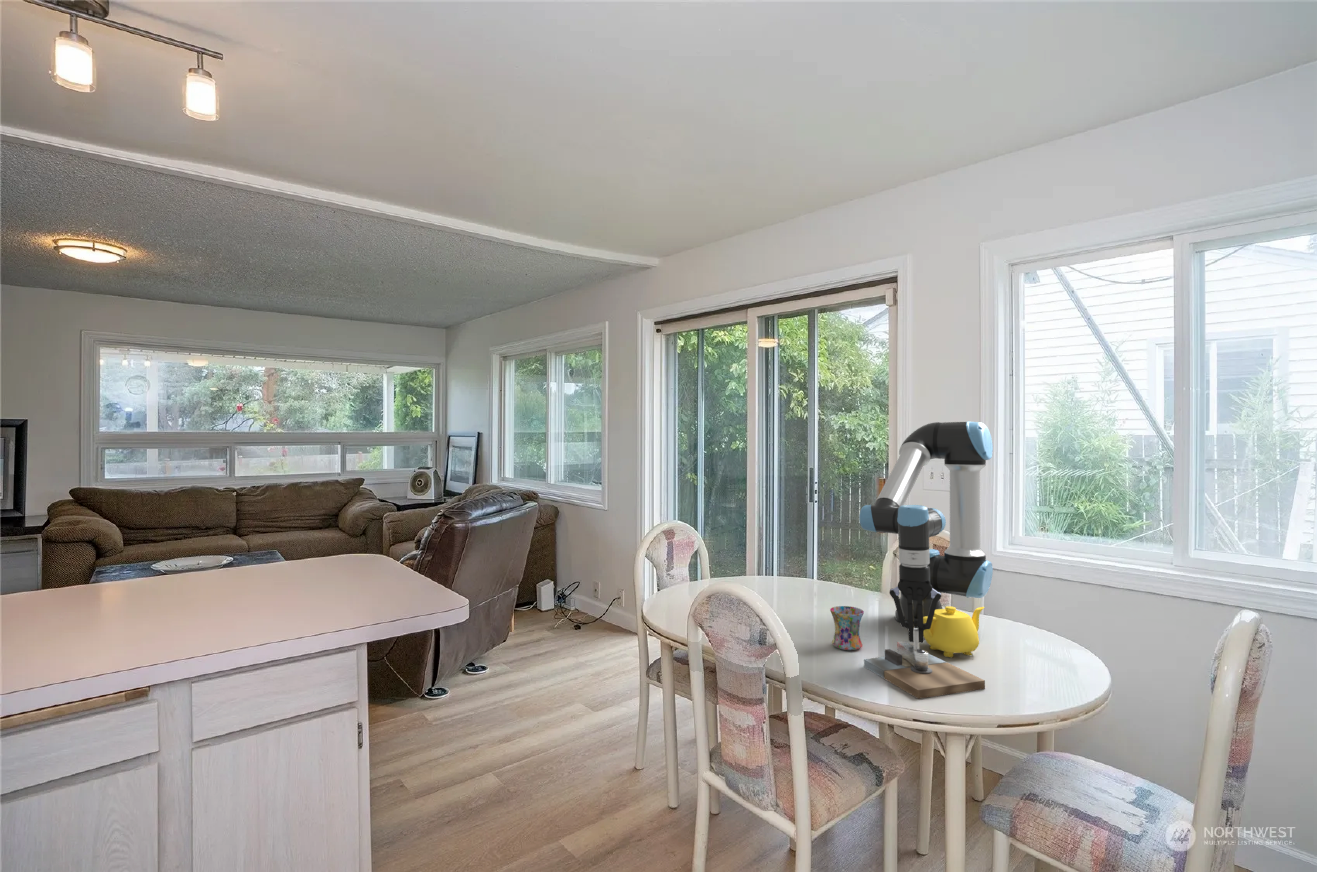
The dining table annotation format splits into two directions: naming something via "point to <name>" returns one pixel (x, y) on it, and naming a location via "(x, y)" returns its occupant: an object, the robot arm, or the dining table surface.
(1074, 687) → the dining table surface
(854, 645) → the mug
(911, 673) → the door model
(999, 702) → the dining table surface
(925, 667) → the latch bar
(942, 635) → the teapot
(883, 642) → the dining table surface
